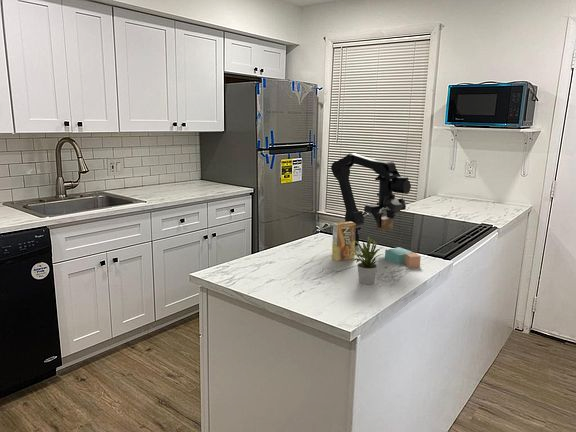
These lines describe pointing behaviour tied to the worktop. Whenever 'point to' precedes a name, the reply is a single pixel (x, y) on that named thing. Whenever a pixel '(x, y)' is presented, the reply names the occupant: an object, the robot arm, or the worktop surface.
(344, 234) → the candy box
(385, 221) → the walnut cube
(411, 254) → the terracotta cube
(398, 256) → the teal base block
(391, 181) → the robot arm
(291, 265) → the worktop surface
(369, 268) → the house plant
